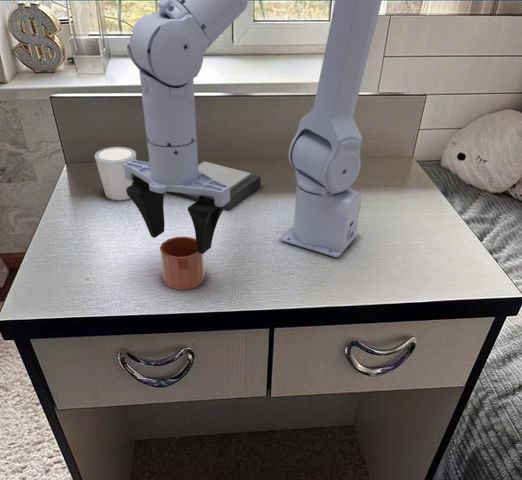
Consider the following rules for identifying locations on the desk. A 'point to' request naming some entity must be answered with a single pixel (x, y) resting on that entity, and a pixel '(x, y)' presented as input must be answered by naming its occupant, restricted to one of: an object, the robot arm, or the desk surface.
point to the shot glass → (114, 171)
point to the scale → (228, 182)
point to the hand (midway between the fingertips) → (180, 242)
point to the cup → (182, 263)
